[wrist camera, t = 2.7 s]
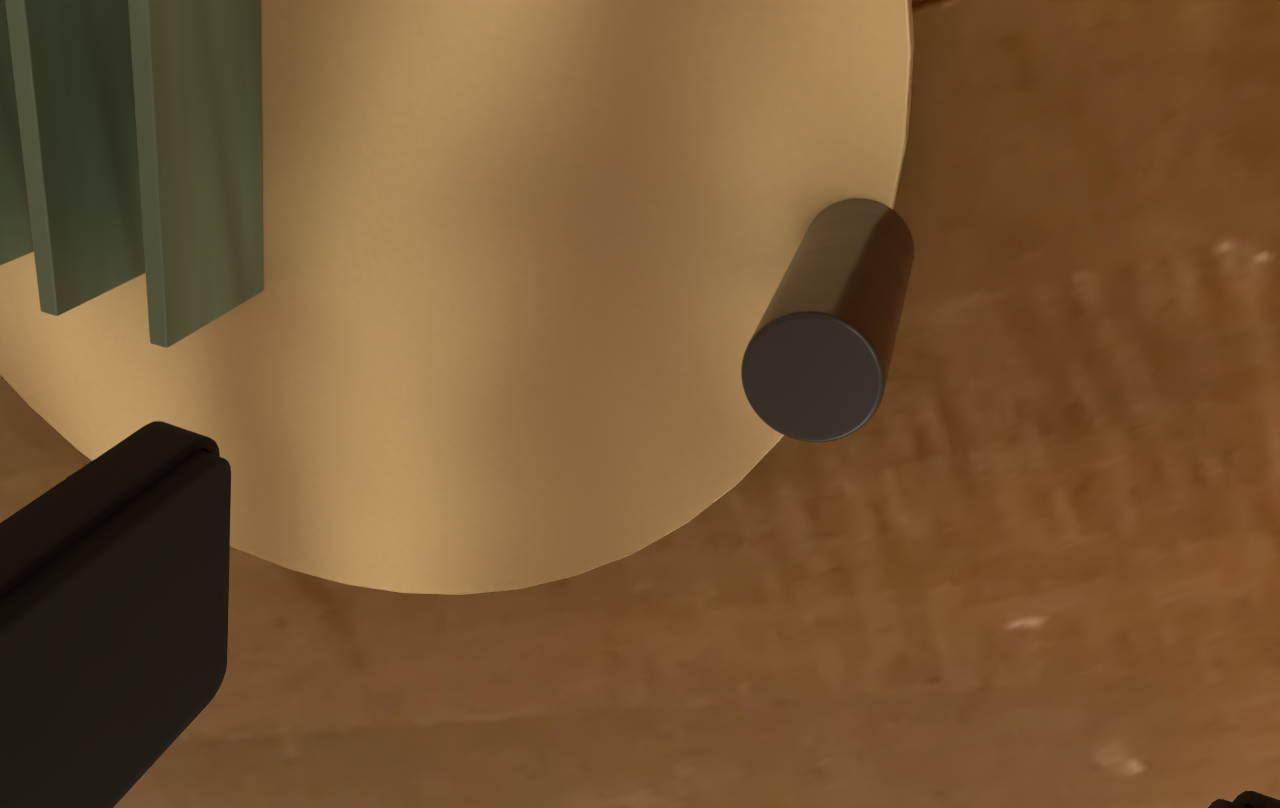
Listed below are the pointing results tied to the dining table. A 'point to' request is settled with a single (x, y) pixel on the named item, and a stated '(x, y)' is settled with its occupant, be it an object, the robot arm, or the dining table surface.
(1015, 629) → the dining table surface
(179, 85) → the dish rack
